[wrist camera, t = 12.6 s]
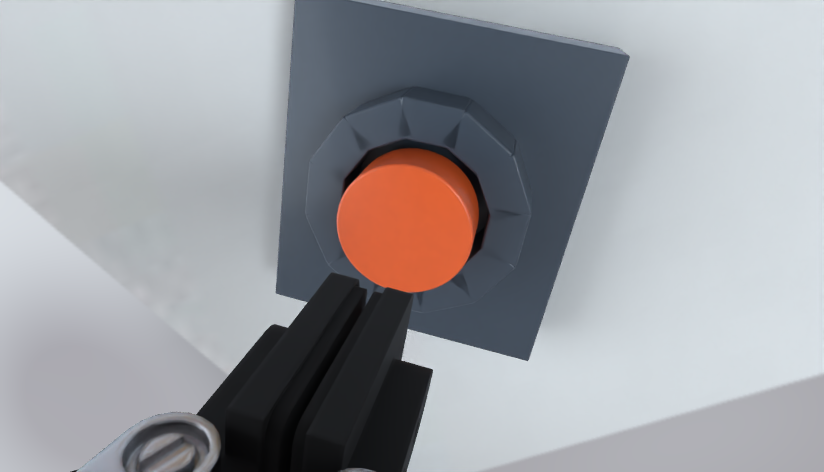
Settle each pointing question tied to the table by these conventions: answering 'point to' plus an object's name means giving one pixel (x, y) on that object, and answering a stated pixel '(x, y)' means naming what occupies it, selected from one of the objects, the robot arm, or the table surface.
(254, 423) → the robot arm
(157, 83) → the table surface
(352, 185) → the button
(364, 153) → the button block
